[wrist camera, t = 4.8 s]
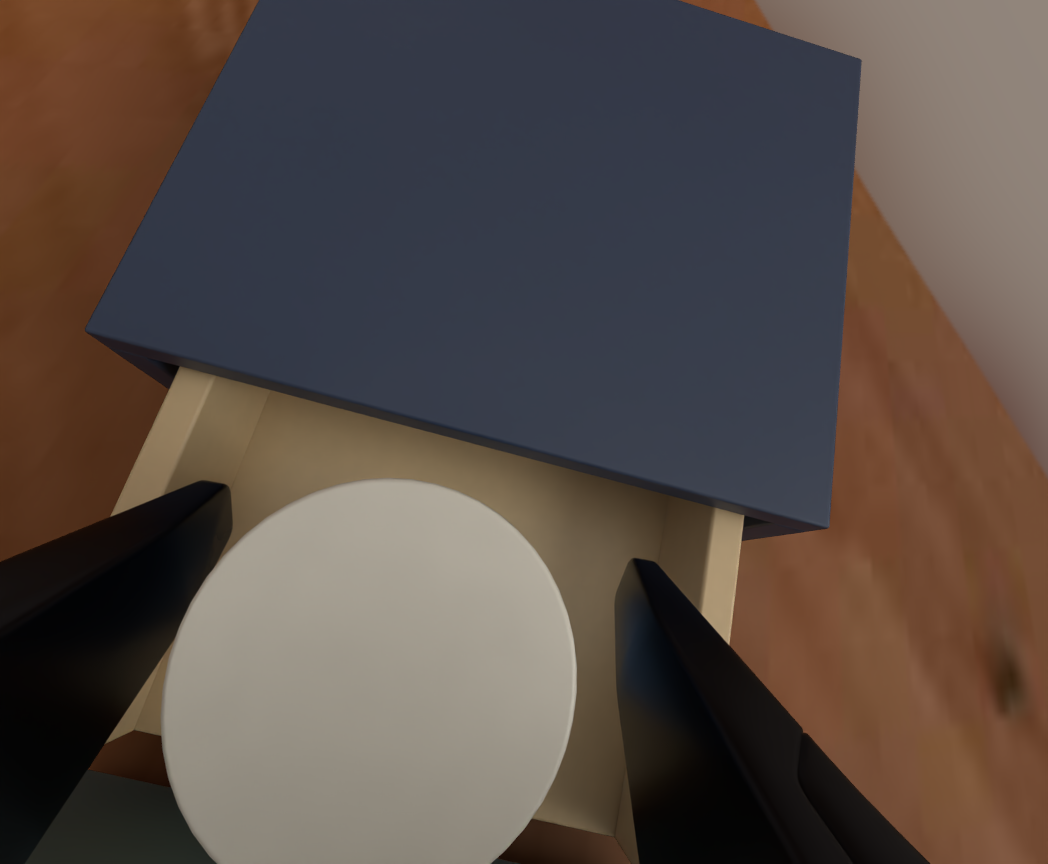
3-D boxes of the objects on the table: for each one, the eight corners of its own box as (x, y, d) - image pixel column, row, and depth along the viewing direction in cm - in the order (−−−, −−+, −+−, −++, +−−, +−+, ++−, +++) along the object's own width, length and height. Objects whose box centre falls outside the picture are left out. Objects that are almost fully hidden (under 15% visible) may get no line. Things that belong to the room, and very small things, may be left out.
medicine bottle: (481, 707, 13) (560, 1024, 4) (329, 672, 13) (8, 915, 4) (518, 555, 14) (648, 503, 5) (378, 519, 14) (230, 393, 5)
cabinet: (702, 547, 17) (830, 529, 11) (213, 420, 16) (81, 330, 10) (749, 202, 21) (862, 58, 15) (357, 84, 20) (319, -117, 14)
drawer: (607, 1176, 12) (686, 1479, 8) (-51, 1055, 11) (-336, 1326, 7) (706, 467, 17) (788, 432, 13) (251, 345, 16) (183, 265, 12)
